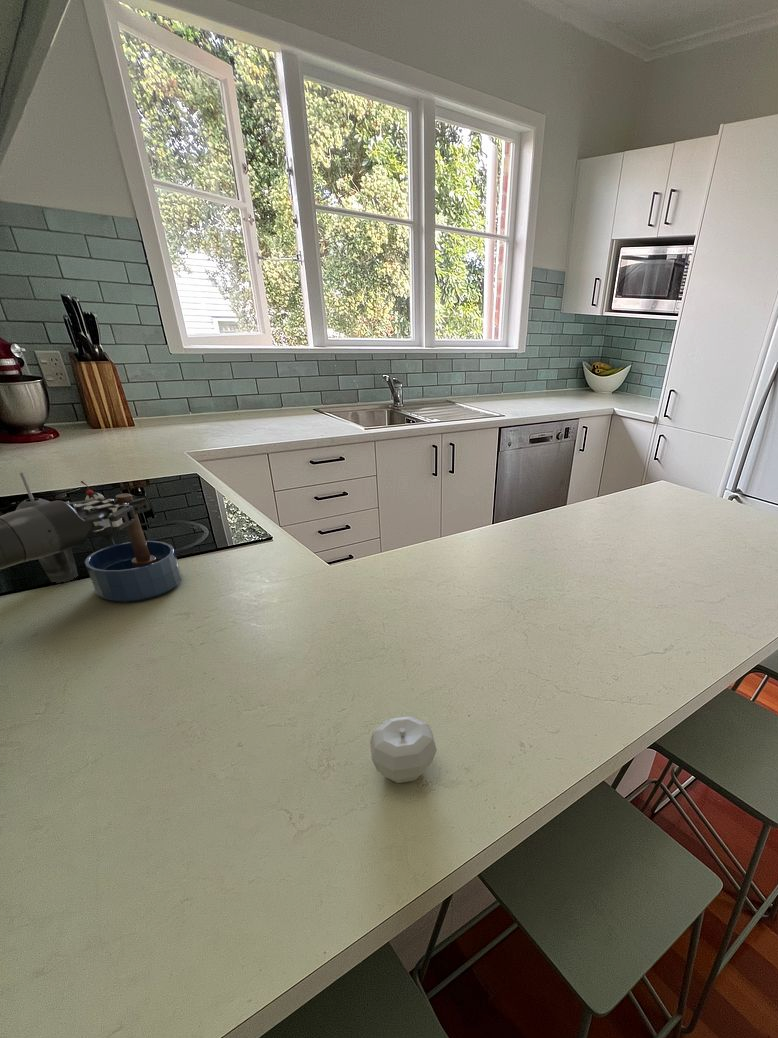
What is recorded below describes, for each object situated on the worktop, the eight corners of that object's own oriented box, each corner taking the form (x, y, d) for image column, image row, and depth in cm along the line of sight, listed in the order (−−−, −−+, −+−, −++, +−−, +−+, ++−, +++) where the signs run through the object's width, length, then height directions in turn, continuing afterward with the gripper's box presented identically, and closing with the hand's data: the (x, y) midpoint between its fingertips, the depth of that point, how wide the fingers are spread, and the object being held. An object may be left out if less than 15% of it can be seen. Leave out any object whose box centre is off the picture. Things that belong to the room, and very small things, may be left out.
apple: (416, 739, 70) (414, 699, 66) (450, 777, 64) (450, 735, 61) (359, 765, 65) (354, 724, 62) (391, 807, 60) (387, 765, 57)
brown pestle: (132, 578, 101) (105, 498, 93) (142, 569, 104) (117, 491, 96) (154, 578, 101) (130, 498, 93) (163, 569, 104) (140, 492, 96)
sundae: (100, 547, 118) (75, 478, 110) (134, 544, 120) (112, 476, 112) (91, 559, 113) (64, 487, 105) (128, 556, 115) (104, 485, 107)
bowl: (81, 604, 96) (67, 571, 93) (120, 571, 108) (109, 540, 105) (164, 604, 98) (154, 571, 94) (193, 571, 110) (185, 540, 106)
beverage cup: (42, 589, 101) (-6, 482, 90) (40, 575, 106) (-5, 471, 95) (88, 580, 104) (47, 476, 94) (84, 567, 109) (45, 466, 99)
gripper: (59, 515, 80) (163, 487, 94) (4, 500, 85) (110, 475, 98) (77, 562, 84) (174, 528, 98) (24, 545, 89) (123, 515, 102)
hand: (141, 502), depth 98 cm, fingers closed on brown pestle, 2 cm apart
